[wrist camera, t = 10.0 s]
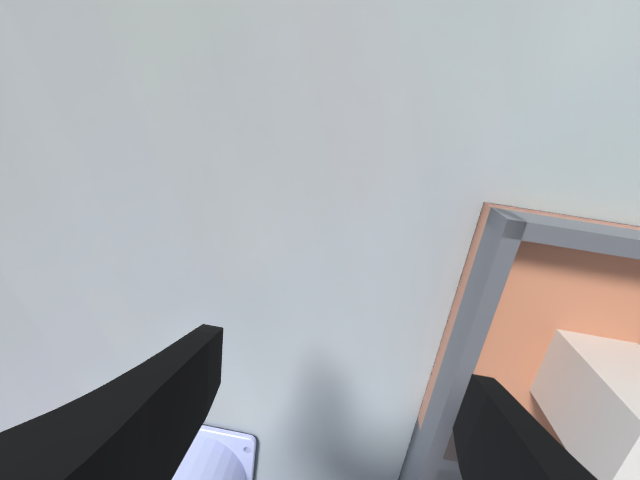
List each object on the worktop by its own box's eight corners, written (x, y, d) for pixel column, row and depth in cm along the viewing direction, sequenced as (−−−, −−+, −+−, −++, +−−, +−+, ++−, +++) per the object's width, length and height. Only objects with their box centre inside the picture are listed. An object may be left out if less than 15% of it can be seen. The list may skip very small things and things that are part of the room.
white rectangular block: (604, 403, 19) (705, 524, 13) (529, 390, 19) (598, 502, 14) (637, 343, 18) (766, 449, 12) (556, 329, 18) (645, 426, 12)
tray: (562, 595, 26) (586, 653, 23) (375, 554, 27) (376, 606, 24) (786, 249, 16) (873, 277, 14) (483, 202, 17) (507, 219, 14)
